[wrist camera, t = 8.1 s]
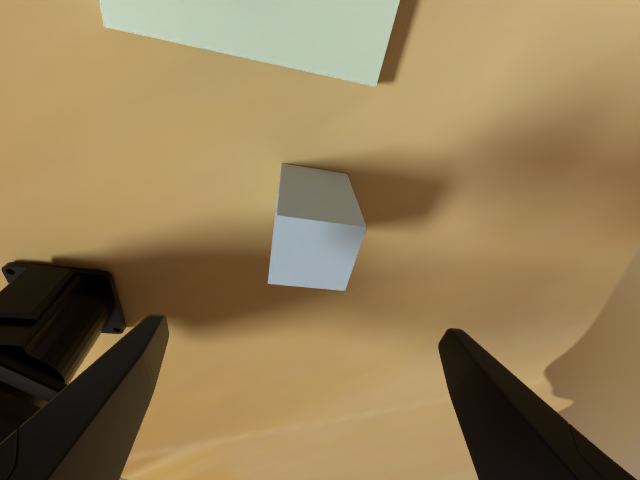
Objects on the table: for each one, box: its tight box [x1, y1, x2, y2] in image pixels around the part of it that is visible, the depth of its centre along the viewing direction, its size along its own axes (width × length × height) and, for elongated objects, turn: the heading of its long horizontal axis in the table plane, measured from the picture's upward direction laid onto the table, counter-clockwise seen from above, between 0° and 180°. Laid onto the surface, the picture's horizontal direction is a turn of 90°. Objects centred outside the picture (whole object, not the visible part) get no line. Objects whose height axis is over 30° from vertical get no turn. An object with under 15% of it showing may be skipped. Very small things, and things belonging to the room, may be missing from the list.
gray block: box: [268, 163, 367, 291], centre depth 16 cm, size 4×4×6 cm
